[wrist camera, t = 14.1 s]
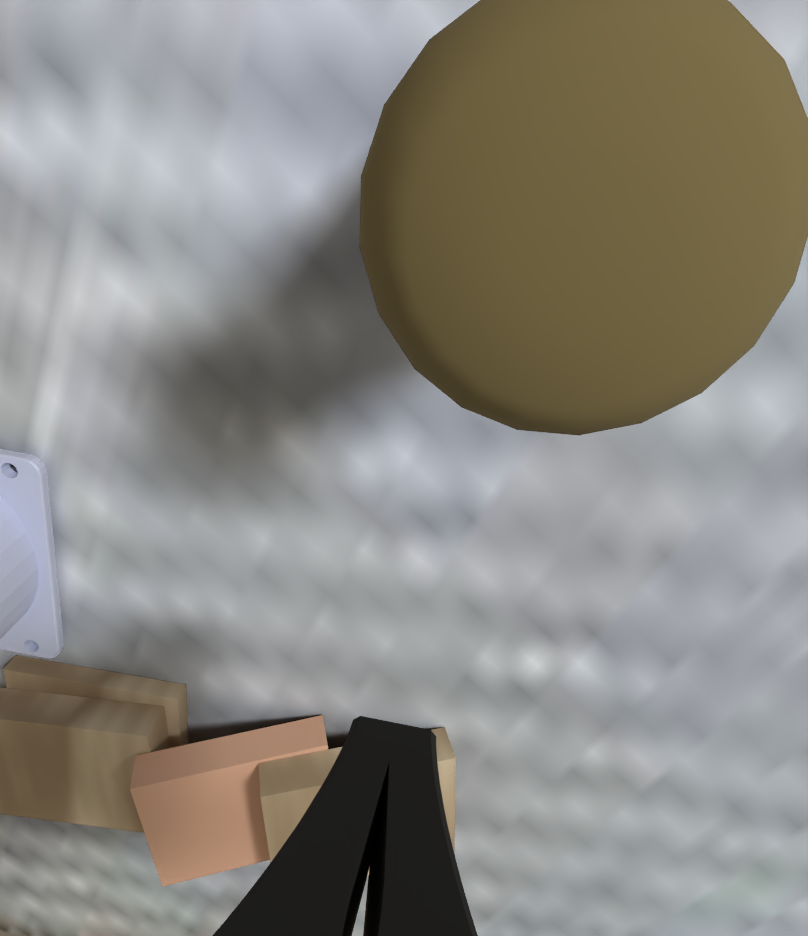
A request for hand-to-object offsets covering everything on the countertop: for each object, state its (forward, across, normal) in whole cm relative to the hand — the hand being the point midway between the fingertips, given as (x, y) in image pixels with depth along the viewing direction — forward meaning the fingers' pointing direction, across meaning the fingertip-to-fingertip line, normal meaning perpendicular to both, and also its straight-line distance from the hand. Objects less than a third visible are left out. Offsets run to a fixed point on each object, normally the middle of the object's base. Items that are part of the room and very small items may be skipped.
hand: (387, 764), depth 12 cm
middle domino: (+8, +8, +12) cm, 17 cm away
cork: (+10, -1, -9) cm, 14 cm away
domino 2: (+9, +2, +12) cm, 15 cm away
